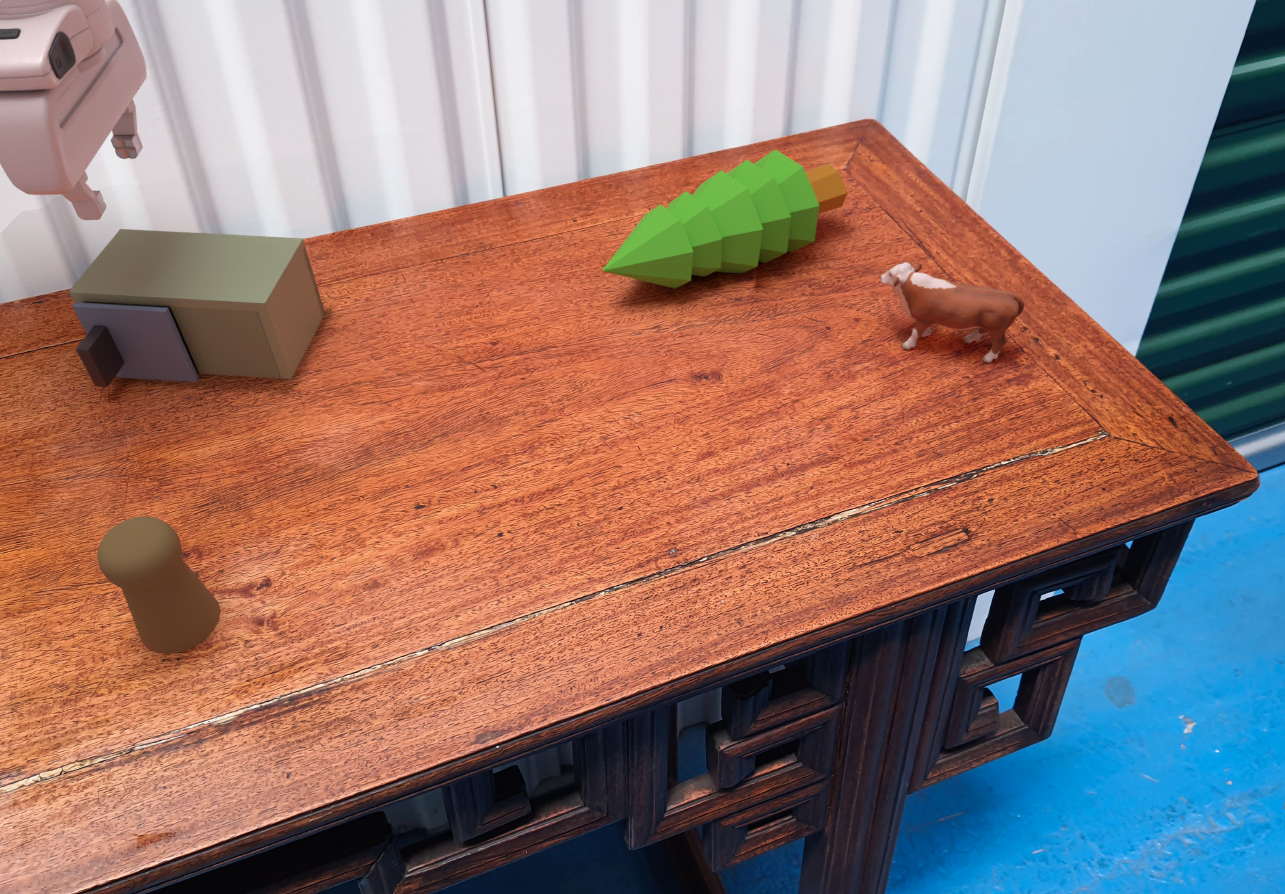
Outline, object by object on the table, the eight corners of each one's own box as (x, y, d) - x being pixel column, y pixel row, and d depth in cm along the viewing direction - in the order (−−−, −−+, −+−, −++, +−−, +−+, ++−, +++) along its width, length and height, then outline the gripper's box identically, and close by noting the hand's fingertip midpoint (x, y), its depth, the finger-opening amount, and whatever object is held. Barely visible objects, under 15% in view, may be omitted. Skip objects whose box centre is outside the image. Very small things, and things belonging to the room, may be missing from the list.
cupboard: (104, 387, 94) (59, 302, 87) (157, 311, 102) (120, 228, 95) (288, 398, 93) (258, 313, 85) (327, 321, 101) (303, 238, 93)
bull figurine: (873, 316, 101) (887, 248, 95) (1009, 345, 97) (1032, 276, 92) (864, 342, 98) (878, 274, 92) (1005, 373, 95) (1028, 304, 89)
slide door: (91, 402, 91) (51, 330, 85) (111, 373, 94) (74, 301, 88) (181, 408, 90) (148, 336, 84) (199, 378, 93) (168, 307, 87)
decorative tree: (860, 133, 102) (619, 218, 89) (871, 241, 107) (644, 337, 94) (787, 132, 111) (559, 209, 98) (800, 232, 116) (584, 317, 103)
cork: (157, 678, 72) (96, 587, 64) (132, 622, 75) (72, 529, 67) (238, 636, 74) (190, 543, 66) (210, 583, 78) (161, 489, 70)
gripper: (50, -38, 80) (115, 123, 89) (-64, 79, 65) (27, 254, 75) (131, -39, 80) (186, 122, 90) (34, 77, 65) (112, 253, 75)
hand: (113, 183), depth 82 cm, fingers open, 8 cm apart
